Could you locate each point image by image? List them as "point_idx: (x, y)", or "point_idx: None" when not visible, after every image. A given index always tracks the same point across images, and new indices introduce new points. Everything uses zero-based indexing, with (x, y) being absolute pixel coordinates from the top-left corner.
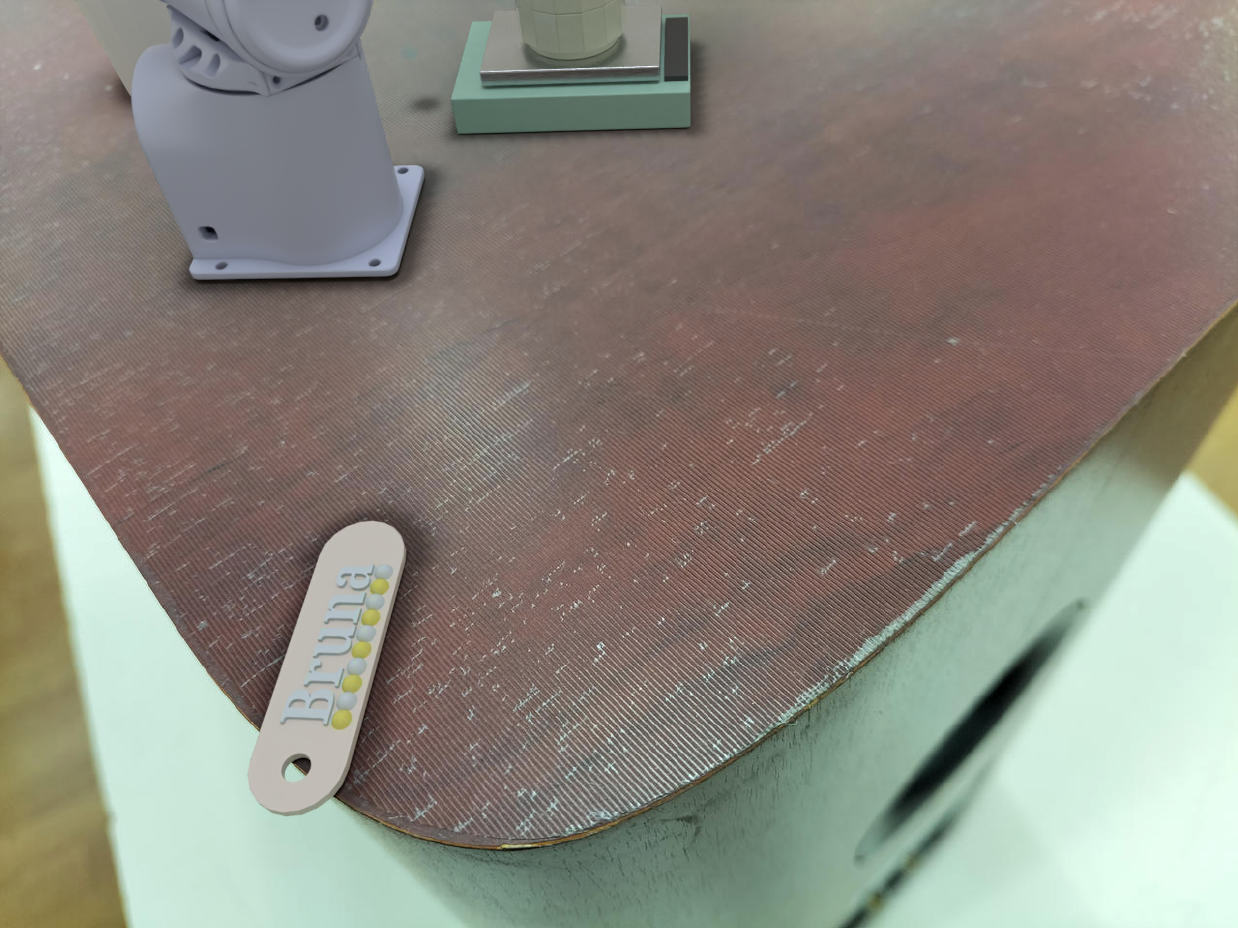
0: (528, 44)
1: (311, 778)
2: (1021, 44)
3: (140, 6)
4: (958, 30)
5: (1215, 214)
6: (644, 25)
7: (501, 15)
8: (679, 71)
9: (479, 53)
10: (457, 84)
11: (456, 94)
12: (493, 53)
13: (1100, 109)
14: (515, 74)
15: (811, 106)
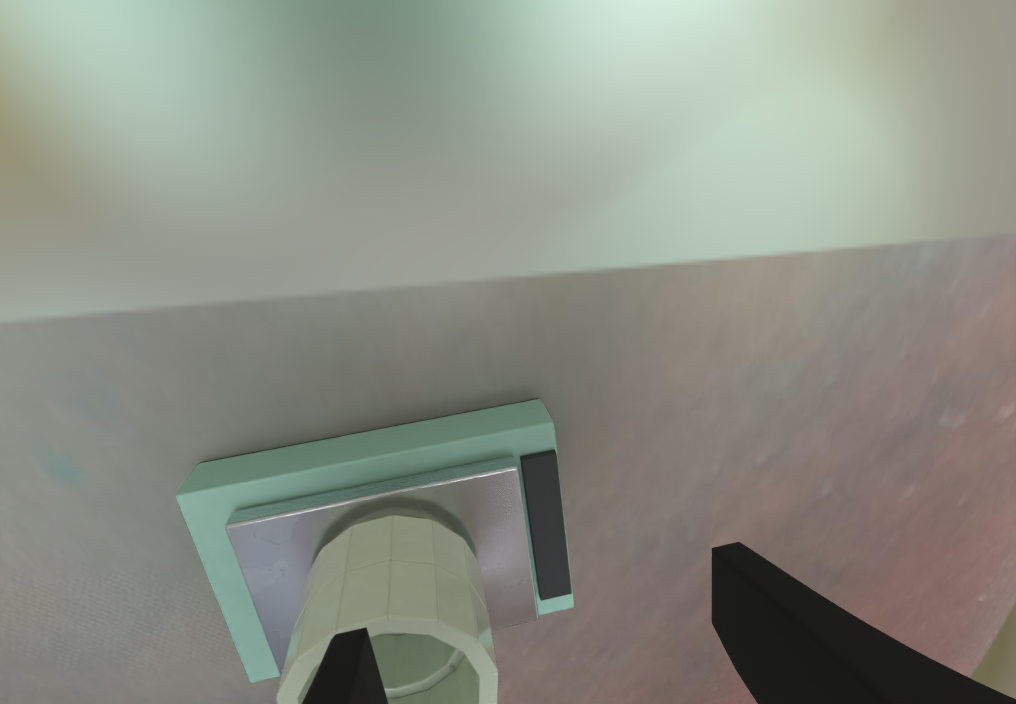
0: None
1: None
2: (972, 330)
3: None
4: (910, 301)
5: (1011, 594)
6: (500, 529)
7: (244, 538)
8: (559, 587)
9: (238, 580)
10: (243, 654)
11: (253, 673)
12: (282, 638)
13: (996, 458)
14: None
15: (701, 504)
